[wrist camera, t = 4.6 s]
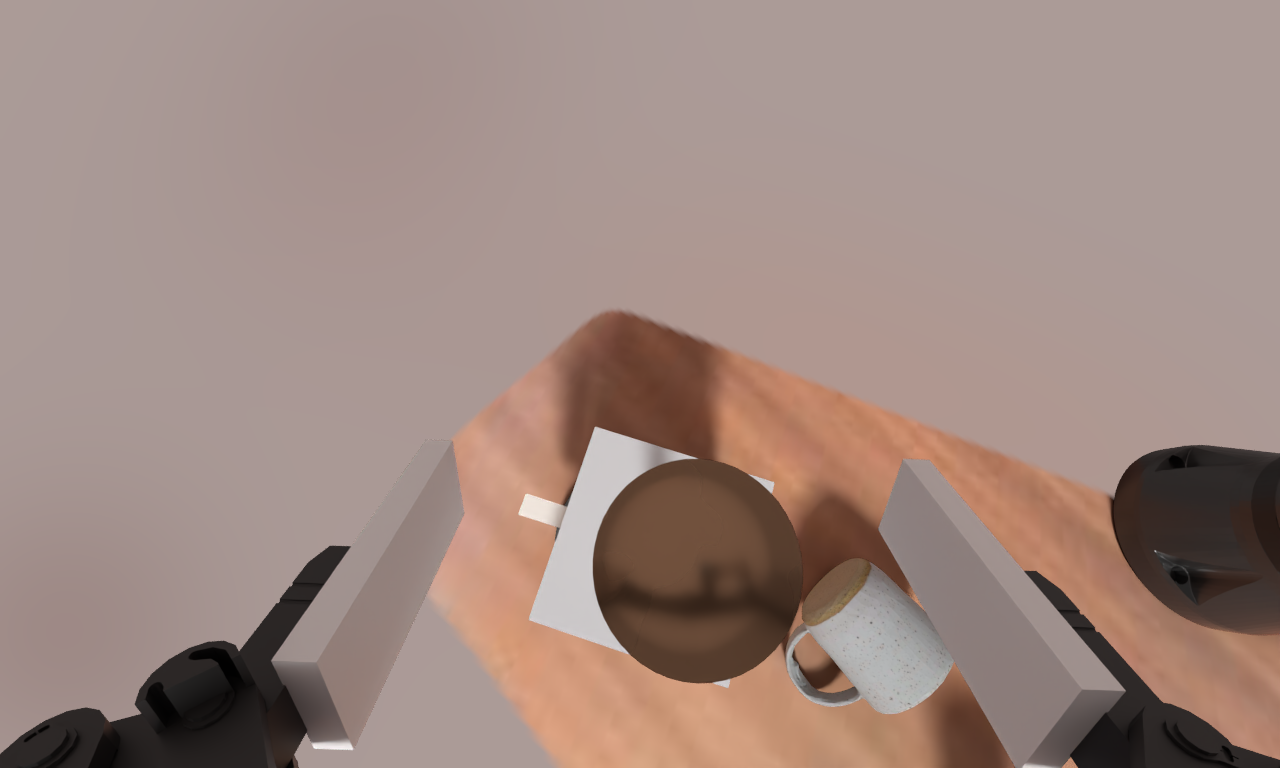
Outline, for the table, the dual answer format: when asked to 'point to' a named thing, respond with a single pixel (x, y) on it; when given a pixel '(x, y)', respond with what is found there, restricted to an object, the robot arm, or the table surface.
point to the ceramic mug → (871, 640)
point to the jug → (590, 533)
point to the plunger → (697, 570)
